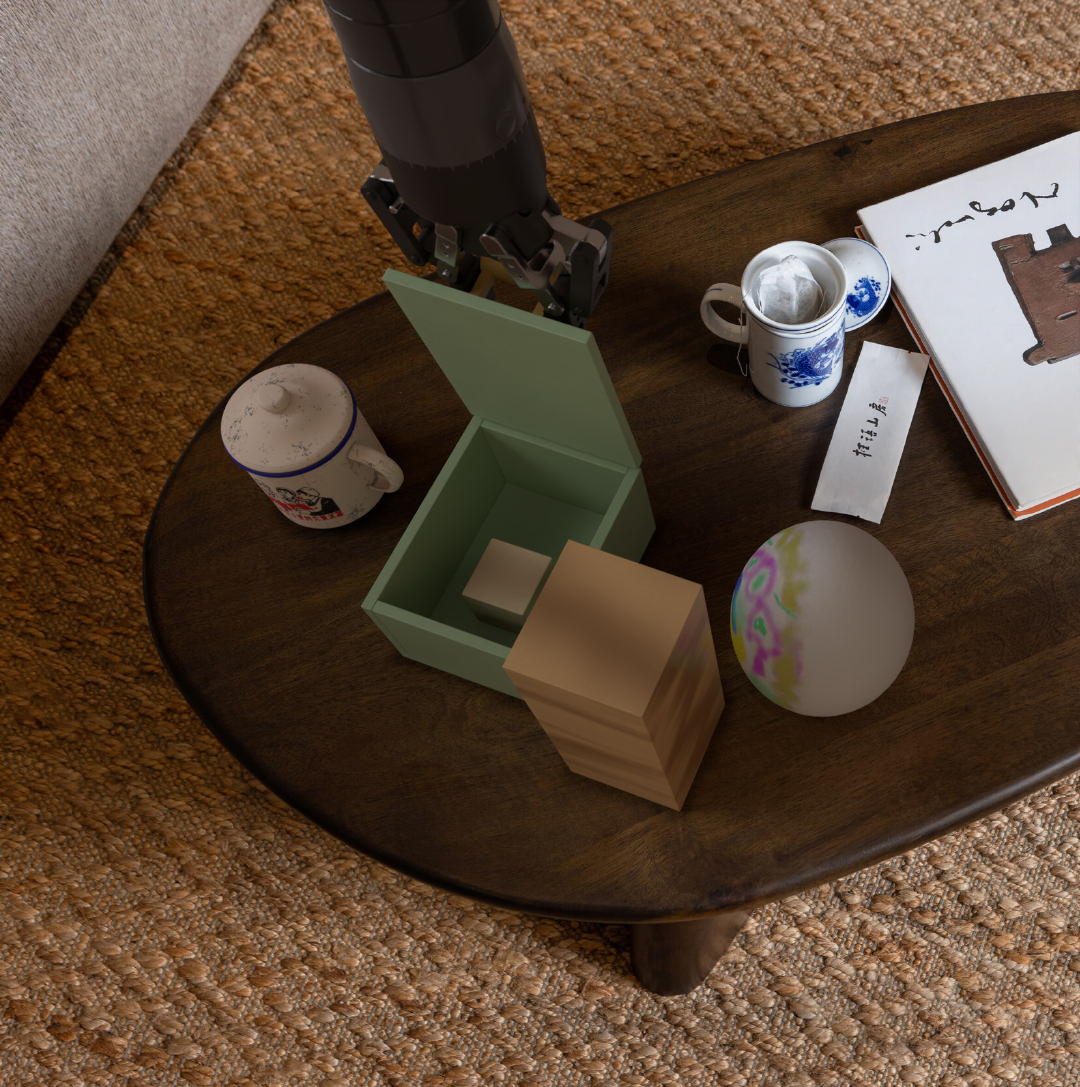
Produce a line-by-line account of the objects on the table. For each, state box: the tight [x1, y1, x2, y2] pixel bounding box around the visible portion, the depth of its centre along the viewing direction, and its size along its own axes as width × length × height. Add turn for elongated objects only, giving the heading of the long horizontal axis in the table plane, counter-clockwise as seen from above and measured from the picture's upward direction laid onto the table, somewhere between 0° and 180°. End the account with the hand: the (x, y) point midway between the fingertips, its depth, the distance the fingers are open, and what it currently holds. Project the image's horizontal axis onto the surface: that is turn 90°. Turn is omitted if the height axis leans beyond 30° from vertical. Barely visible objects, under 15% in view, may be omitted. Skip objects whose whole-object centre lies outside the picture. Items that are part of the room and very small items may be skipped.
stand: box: [503, 540, 726, 812], centre depth 72 cm, size 8×8×20 cm
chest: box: [360, 415, 657, 701], centre depth 81 cm, size 16×13×9 cm
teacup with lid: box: [220, 363, 405, 530], centre depth 84 cm, size 12×9×12 cm
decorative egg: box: [729, 519, 916, 718], centre depth 77 cm, size 12×12×15 cm
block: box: [462, 538, 555, 634], centre depth 82 cm, size 5×5×5 cm
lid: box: [381, 256, 643, 469], centre depth 74 cm, size 16×13×5 cm
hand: (525, 322), depth 71 cm, fingers closed on lid, 5 cm apart
